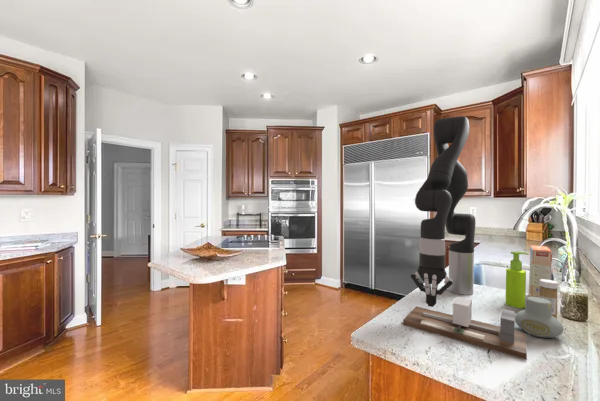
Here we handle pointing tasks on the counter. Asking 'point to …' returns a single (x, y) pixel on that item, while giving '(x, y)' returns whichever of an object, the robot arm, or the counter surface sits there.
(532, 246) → the cracker box
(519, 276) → the soap dispenser
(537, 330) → the air freshener
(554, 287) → the sprinkles bottle
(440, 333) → the base
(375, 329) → the counter surface
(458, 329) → the block
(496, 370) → the counter surface
